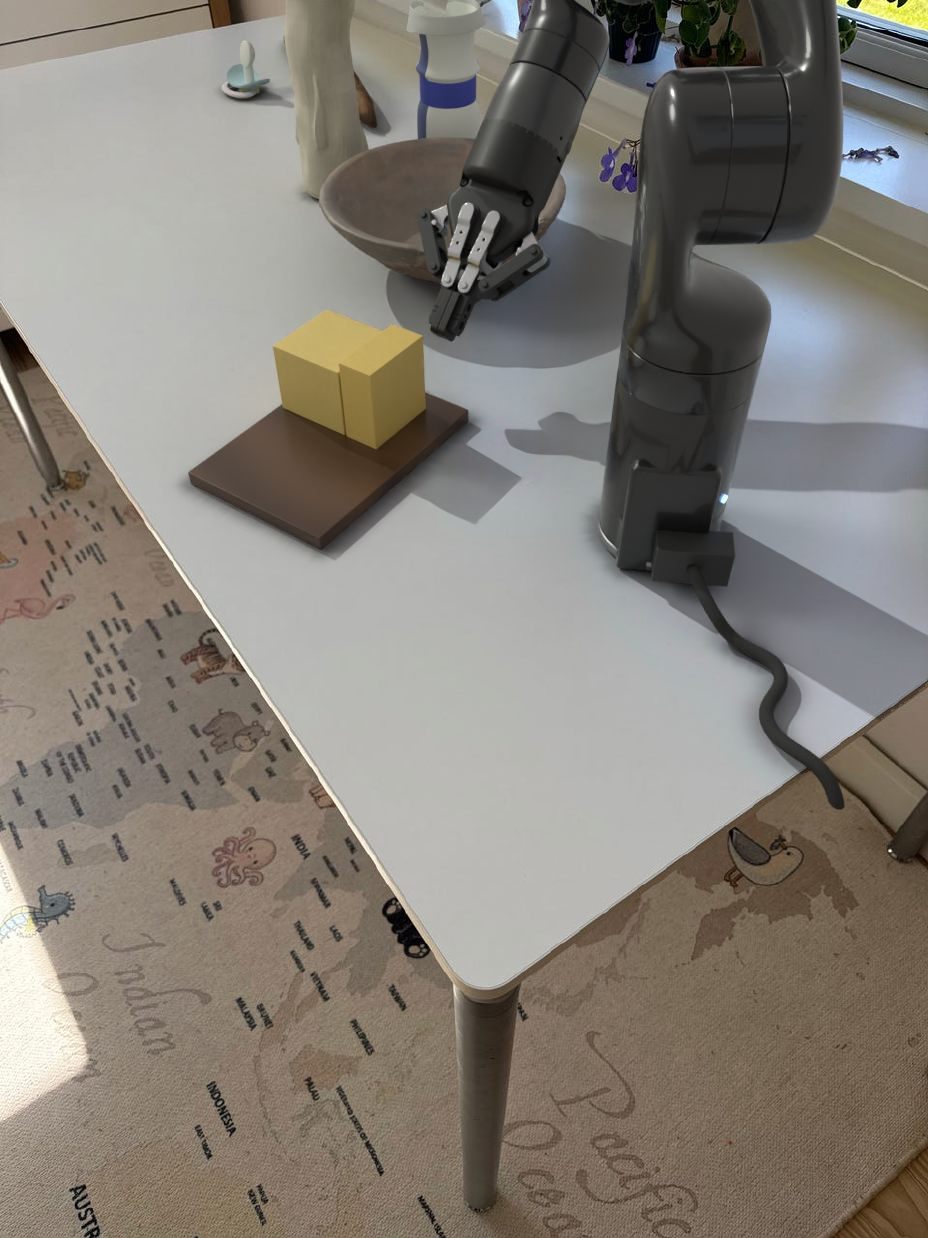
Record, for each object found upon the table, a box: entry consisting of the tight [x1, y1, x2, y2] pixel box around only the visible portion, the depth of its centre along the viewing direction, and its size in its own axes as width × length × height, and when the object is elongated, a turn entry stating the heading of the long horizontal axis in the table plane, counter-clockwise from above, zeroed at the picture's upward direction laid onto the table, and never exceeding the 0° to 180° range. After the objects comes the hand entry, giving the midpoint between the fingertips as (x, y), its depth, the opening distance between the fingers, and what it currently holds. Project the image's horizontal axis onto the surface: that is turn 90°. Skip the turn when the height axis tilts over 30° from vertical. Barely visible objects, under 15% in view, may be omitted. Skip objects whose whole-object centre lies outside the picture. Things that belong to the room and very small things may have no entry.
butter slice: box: [339, 323, 426, 449], centre depth 83 cm, size 7×3×7 cm, turn 145°
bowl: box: [318, 137, 567, 285], centre depth 104 cm, size 25×25×8 cm
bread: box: [283, 36, 378, 129], centre depth 140 cm, size 38×5×5 cm, turn 25°
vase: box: [283, 0, 370, 200], centre depth 108 cm, size 9×8×30 cm
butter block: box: [272, 309, 383, 435], centre depth 86 cm, size 7×7×6 cm
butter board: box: [187, 391, 469, 550], centre depth 85 cm, size 20×14×1 cm
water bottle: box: [406, 0, 487, 139], centre depth 110 cm, size 8×9×25 cm
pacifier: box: [221, 39, 271, 99], centre depth 138 cm, size 7×6×6 cm
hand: (441, 336), depth 86 cm, fingers closed
